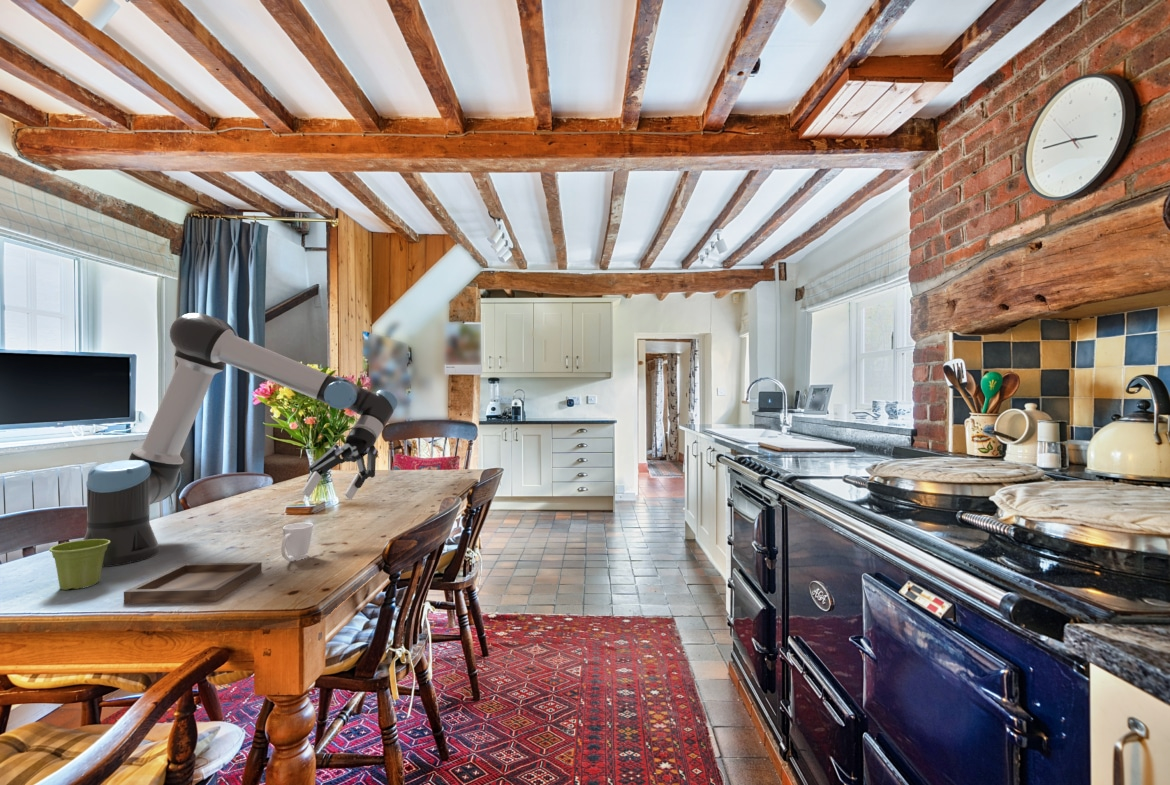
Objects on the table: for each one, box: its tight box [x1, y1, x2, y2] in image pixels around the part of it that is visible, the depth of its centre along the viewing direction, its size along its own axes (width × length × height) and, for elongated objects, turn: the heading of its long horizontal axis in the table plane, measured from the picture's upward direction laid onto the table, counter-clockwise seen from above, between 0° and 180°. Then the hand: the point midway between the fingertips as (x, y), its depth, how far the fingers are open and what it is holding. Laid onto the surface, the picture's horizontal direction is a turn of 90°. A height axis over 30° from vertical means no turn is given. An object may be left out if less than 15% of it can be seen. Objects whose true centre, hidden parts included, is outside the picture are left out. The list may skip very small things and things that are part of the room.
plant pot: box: [48, 539, 110, 591], centre depth 113 cm, size 9×9×9 cm
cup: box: [280, 522, 314, 562], centre depth 130 cm, size 7×10×8 cm
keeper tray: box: [123, 561, 263, 605], centre depth 112 cm, size 17×17×2 cm
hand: (326, 495), depth 140 cm, fingers open, 13 cm apart
